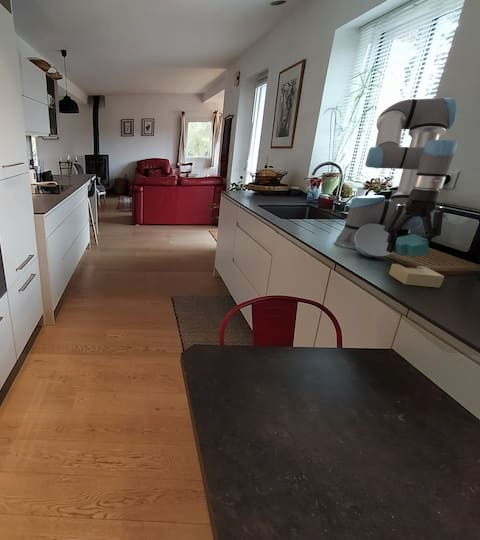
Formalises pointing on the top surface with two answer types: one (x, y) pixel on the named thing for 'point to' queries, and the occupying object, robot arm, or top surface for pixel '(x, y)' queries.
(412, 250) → the teal star block
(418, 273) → the sand pad
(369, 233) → the chinaware
